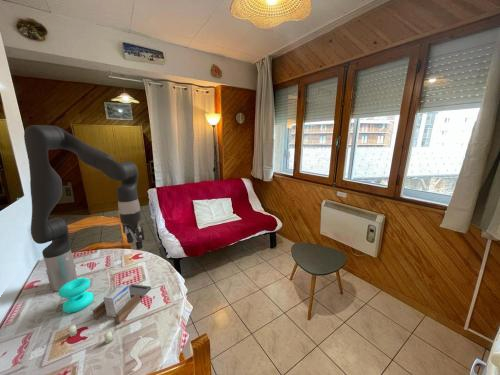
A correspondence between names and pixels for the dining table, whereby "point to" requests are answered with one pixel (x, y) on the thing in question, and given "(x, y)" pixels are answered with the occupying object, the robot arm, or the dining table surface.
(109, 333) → the pair of cream knobs
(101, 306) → the channel
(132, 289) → the pit tray
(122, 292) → the medicine box
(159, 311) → the dining table surface
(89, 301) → the turquoise spool
